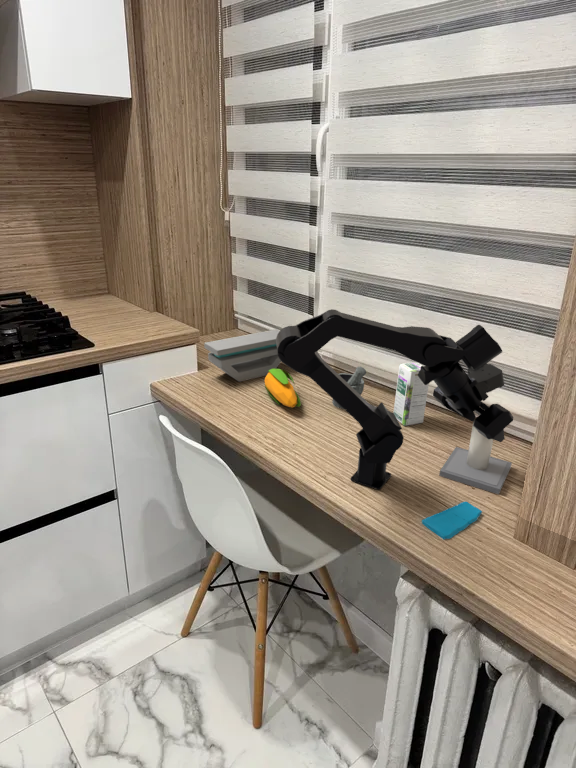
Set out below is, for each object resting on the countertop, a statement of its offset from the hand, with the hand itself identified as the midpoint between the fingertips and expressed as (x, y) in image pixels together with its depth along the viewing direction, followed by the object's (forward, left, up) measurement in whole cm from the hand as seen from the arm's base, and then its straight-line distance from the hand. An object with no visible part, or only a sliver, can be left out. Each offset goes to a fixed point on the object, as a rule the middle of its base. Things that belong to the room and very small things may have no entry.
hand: (487, 429), depth 110 cm
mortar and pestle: (+12, +38, -10) cm, 41 cm away
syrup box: (+13, +21, -10) cm, 27 cm away
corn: (+5, +53, -10) cm, 54 cm away
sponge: (-21, -1, -10) cm, 23 cm away
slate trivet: (-2, +1, -9) cm, 10 cm away
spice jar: (-1, +1, -8) cm, 8 cm away
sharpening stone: (+15, +72, -10) cm, 74 cm away
